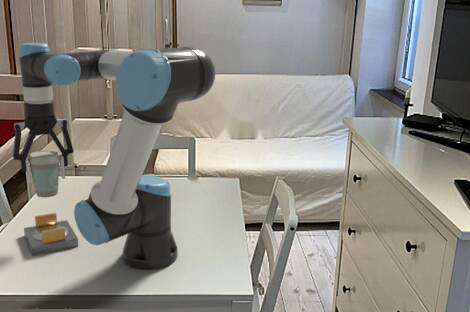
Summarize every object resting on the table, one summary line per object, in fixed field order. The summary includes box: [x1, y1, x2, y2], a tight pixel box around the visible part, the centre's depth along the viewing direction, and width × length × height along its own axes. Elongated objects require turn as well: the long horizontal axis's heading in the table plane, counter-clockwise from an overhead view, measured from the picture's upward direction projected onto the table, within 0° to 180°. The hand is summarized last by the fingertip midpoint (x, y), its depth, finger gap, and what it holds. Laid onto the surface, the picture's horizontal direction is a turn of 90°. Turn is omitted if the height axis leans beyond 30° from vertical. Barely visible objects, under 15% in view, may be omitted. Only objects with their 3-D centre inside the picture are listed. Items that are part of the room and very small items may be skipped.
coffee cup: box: [27, 149, 60, 198], centre depth 147 cm, size 8×8×12 cm
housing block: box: [23, 212, 79, 256], centre depth 152 cm, size 14×13×6 cm
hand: (46, 179), depth 147 cm, fingers closed on coffee cup, 8 cm apart
